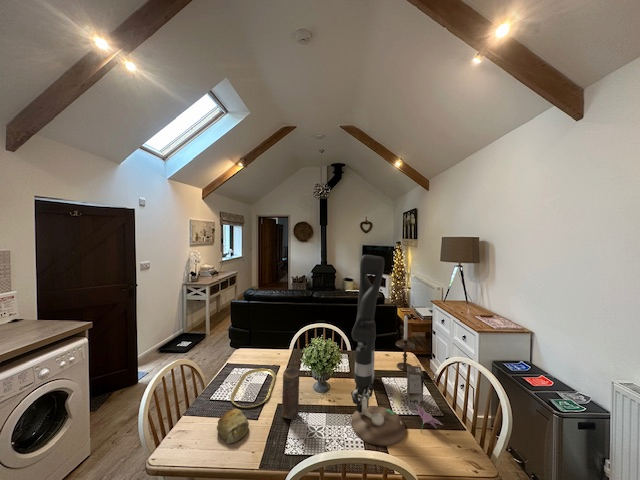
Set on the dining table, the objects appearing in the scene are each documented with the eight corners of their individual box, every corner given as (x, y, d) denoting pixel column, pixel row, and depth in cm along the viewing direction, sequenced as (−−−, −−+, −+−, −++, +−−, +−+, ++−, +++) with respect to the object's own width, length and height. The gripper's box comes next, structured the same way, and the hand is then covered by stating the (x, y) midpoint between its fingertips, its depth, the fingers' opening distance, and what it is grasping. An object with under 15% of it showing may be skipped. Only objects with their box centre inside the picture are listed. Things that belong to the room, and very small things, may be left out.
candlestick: (416, 372, 163) (418, 312, 162) (398, 371, 163) (399, 312, 162) (411, 363, 174) (412, 307, 172) (393, 363, 174) (394, 307, 173)
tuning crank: (386, 421, 118) (386, 406, 118) (379, 427, 115) (379, 412, 114) (362, 407, 127) (362, 393, 127) (355, 412, 124) (355, 398, 123)
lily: (445, 443, 110) (448, 416, 114) (420, 435, 108) (424, 407, 112) (425, 432, 121) (429, 408, 125) (402, 424, 119) (407, 400, 123)
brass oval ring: (224, 409, 128) (224, 406, 128) (246, 370, 163) (246, 368, 163) (265, 410, 128) (265, 406, 128) (278, 371, 163) (278, 368, 163)
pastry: (223, 419, 121) (223, 401, 121) (252, 420, 121) (252, 402, 121) (210, 445, 107) (210, 424, 107) (243, 445, 107) (243, 425, 107)
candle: (301, 412, 126) (301, 368, 125) (294, 423, 119) (295, 377, 118) (286, 408, 129) (286, 365, 128) (278, 418, 122) (278, 373, 121)
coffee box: (423, 410, 129) (424, 375, 128) (408, 408, 130) (409, 374, 129) (420, 398, 138) (421, 366, 137) (406, 396, 139) (407, 364, 138)
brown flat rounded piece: (340, 424, 119) (340, 420, 118) (371, 402, 134) (371, 399, 134) (385, 455, 103) (385, 451, 103) (414, 426, 118) (414, 422, 118)
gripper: (366, 363, 131) (365, 399, 131) (346, 373, 121) (345, 412, 122) (379, 369, 125) (379, 406, 126) (359, 380, 116) (359, 421, 116)
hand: (362, 409), depth 124 cm, fingers closed on tuning crank, 4 cm apart
